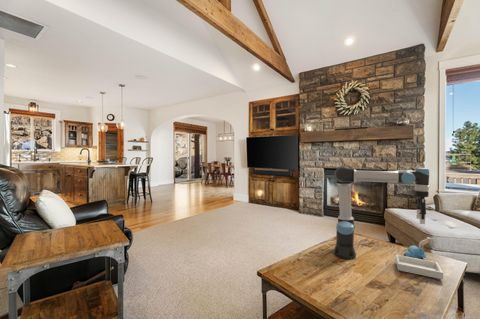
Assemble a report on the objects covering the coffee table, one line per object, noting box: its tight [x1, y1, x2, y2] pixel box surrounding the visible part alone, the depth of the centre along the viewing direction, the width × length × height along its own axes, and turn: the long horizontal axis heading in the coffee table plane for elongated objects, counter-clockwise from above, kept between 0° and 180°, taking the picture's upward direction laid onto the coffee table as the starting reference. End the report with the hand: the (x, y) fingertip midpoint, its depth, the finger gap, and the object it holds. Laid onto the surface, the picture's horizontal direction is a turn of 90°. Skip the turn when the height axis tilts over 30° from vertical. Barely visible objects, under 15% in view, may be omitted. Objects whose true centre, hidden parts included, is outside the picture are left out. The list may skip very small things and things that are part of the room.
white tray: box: [395, 254, 444, 282], centre depth 150 cm, size 22×15×6 cm
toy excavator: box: [403, 236, 435, 260], centre depth 163 cm, size 9×17×17 cm, turn 78°
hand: (420, 221), depth 162 cm, fingers open, 13 cm apart
